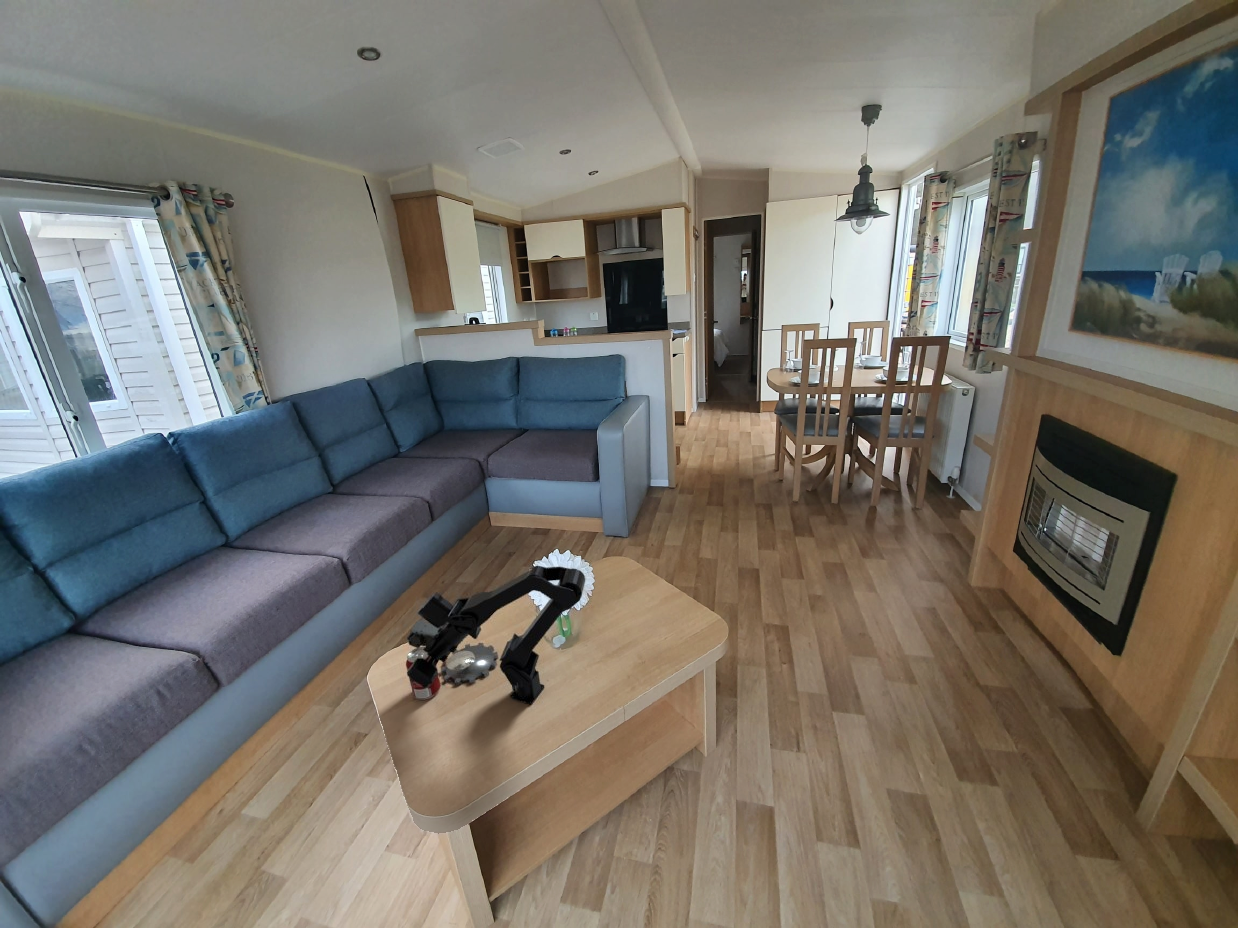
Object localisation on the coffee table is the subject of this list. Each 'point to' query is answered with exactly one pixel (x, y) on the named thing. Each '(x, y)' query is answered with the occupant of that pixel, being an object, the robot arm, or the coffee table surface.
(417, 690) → the soda can
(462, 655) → the sprocket
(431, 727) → the coffee table surface
